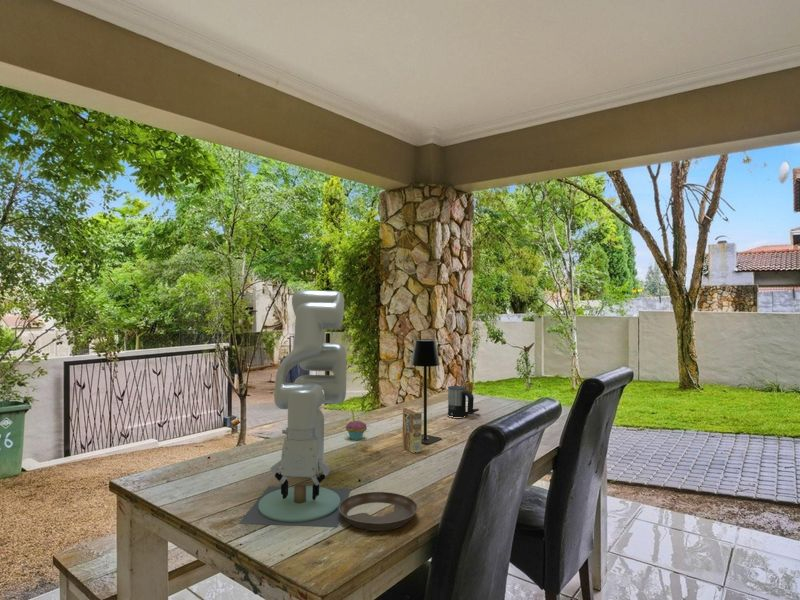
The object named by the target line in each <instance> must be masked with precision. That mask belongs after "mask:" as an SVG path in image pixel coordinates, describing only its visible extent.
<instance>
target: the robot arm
mask: <svg viewBox="0 0 800 600" xmlns="http://www.w3.org/2000/svg"><path fill="white" fill-rule="evenodd" d="M291 306H292V310H293V313H294V316H295V320H294V336H293V339H294V340H293V348H292V350H291V351H290V352H289V353H288V354H287V355H286V356H285V357H284V359H283V360H282V361H281V363H280V364H279V366H278V368H277V370H276V374H275V381H274V383H275V384H274V392H273V401H274V405H275V406H276V407H277V409H280V410H287V427H286V428H282V430H281V433H282V434H285V436H286V437H285V438H284V439H283V444H282V449H281V456H280V457H281V460H279V461H277V462H276V463H275V464H273V465H272V466H271V467H270V471H271V472H272V474H273V475H274V478H275V479H277V481H279V484H280V487H281V494H283V499H285V498H286V497H287V495H288V487H289V480H288V478H307V479H308V478H310V479H311V480H312V482H313V485H312V486H313V491H312V499H313V500H315V499H316V497H317V496H318V495H319V487H320V483H322V482H323V481H324V479H325V478H326V477H327V476H328V475H329V473H330V472H331V467H329V465H328V463H327V462H324V451H325V450H324V447H325V445H324V443H325V416H324V413H323V411H322V410H321V409H320V408H321V406H322V405H325V404H326V405H332V404H333V405H337V404H342V403H343V402H344V401H345V400H346V396H347V351H346V350H347V349H346V348H345V346H344V345H343V344H342V343H338V342H326V338H325V337H326V330H338V329H340V328H341V327H342V324H343V321H344V313H345V312H344V311H345V298H344V295H343V293H342V292H341V291H337V290H318V289H317V290H314V289H313V290H312V289H311V290H309V289H306V290H304V289H303V290H298V291H295V292H294V293H293V294H292V297H291ZM297 365H299V366H300V368H301V370H303V371H309V372H310V371H311V372H331V373H332V374H303V375H300V376H298V377H297V378H296V379H295V380H294V382H286V381H287V380H286V379H287V376H288V373H289V371H290V370H292V369H293V368H294V367H295V366H297ZM279 469H280V471H279Z"/></svg>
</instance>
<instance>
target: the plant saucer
mask: <svg viewBox="0 0 800 600" xmlns="http://www.w3.org/2000/svg"><path fill="white" fill-rule="evenodd" d="M373 503H374V504H376V503H379V504H382V503H383V504H390V505H394V507H393V511H390V512H388V513H386V514H384V515H381V516H377V515H376V516H375V515H374V516H373V515H370V514H369V513H367V512H360V513H359V512H358V513H356V514H355V513H354V514H351V515H349V514H348V513H349V512H350V511H351V510H352V509H355V508H357V507H359V506H361V505H366V504H373ZM417 510H418V504H417V503H416V501H414V499H412V498H410V497H408V496H406V495H403V494H399V493H396V492H395V493H393V492H387V491H385V492H384V491H373V492H371V491H370V492H363V493H357V494H354V495H351V496H349V497H348V498H346V499H345V500H343V501H342V502H341V503H340V505H339V511H340V513H341V515H342V516H341V517H342V518H343V519H344V520H345V521H346V522H347V523H348V524H349V525H352V526H353V527H355V528H359V529H362V530H366V531H367V530H368V531H388V530H389V531H390V530H394V529H398V528H400V527H402V526H404V525H405V524H407V523H408V522H409V521H410V520H411V519H412V518H413V517H414V516H415V514H416V513H417Z"/></svg>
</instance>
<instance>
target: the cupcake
mask: <svg viewBox="0 0 800 600" xmlns="http://www.w3.org/2000/svg"><path fill="white" fill-rule="evenodd" d="M351 415H352V421H350V422H348V423H347V424H346V426H345V429H346V431H347V432H348V435H349V439H350V440H352V441H359V440H362V438H363V435H364V433H365V432H366V431H367V429H368V426H367V424H366V423H365V422H363V421H358V420H355V413H354V410H353V409H351Z"/></svg>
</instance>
